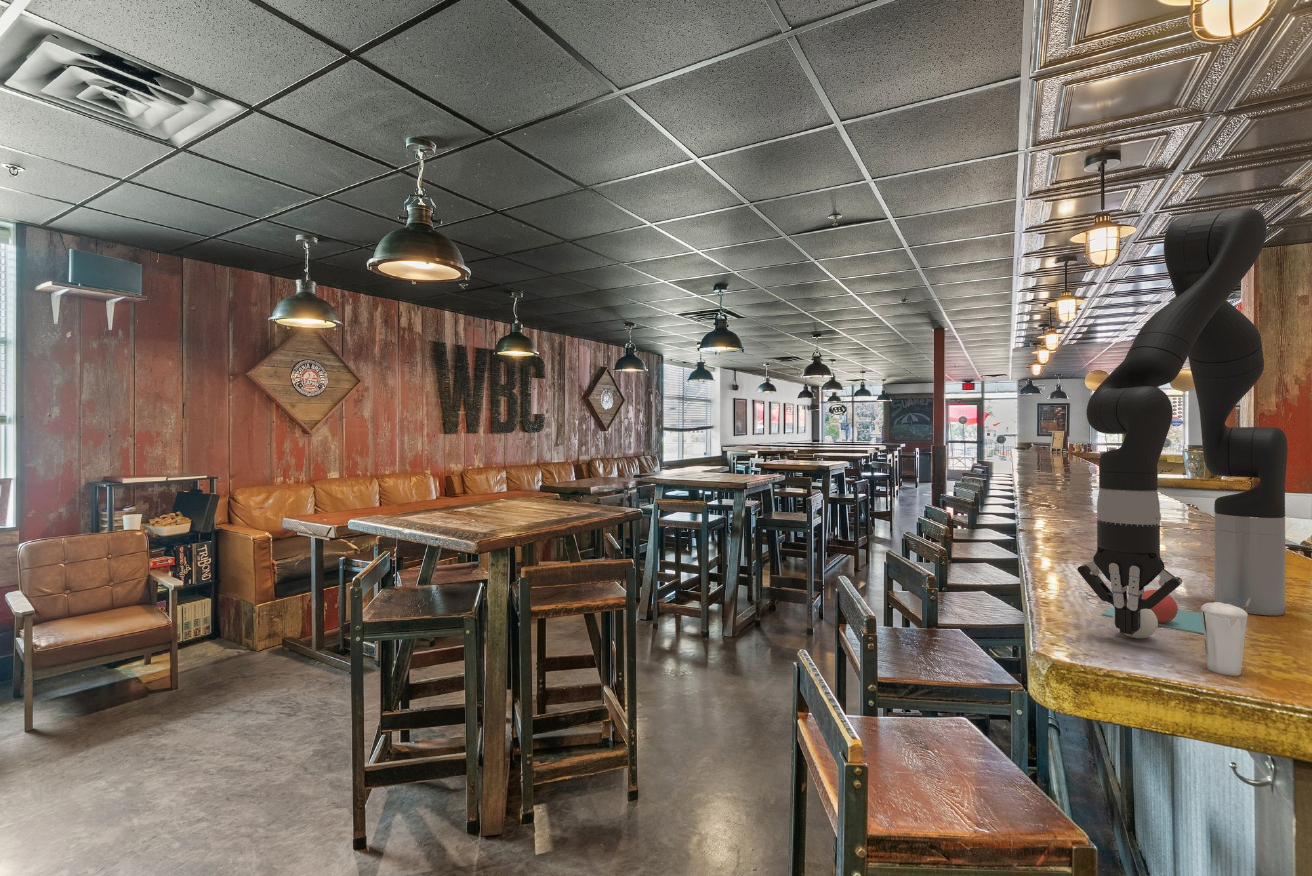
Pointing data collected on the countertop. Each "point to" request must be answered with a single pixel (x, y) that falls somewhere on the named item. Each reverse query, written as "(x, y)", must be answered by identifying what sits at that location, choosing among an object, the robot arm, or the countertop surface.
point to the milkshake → (1224, 636)
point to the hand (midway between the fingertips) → (1127, 632)
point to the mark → (1179, 621)
